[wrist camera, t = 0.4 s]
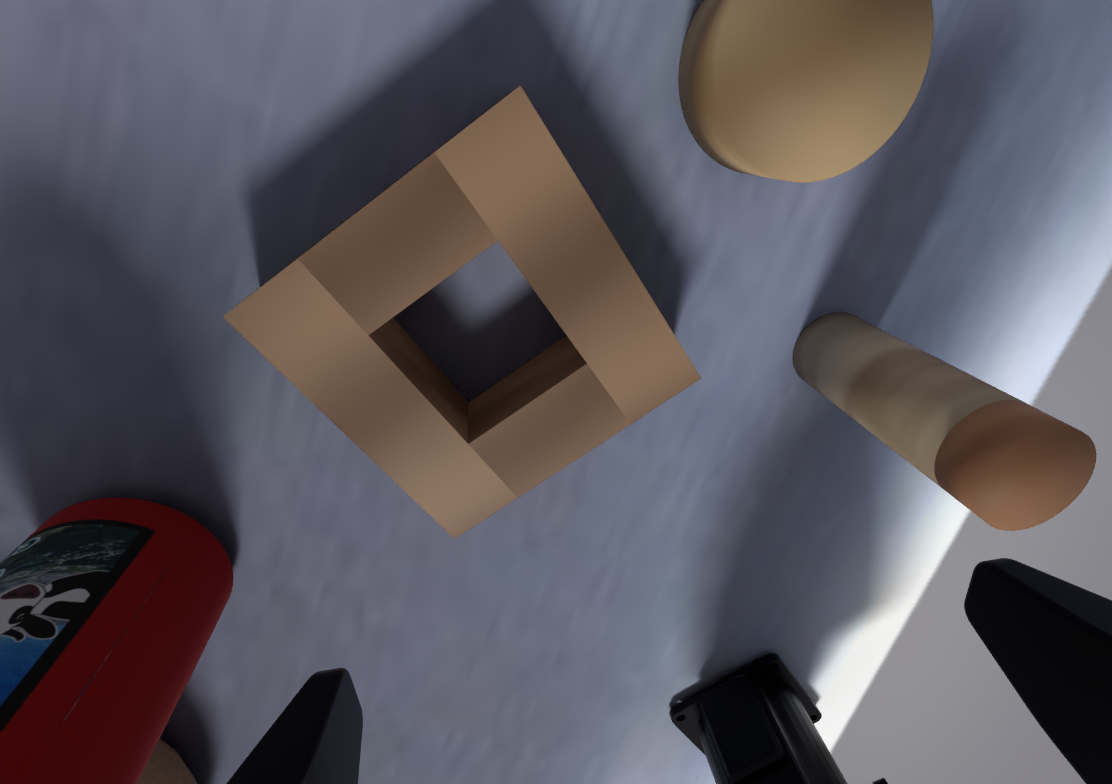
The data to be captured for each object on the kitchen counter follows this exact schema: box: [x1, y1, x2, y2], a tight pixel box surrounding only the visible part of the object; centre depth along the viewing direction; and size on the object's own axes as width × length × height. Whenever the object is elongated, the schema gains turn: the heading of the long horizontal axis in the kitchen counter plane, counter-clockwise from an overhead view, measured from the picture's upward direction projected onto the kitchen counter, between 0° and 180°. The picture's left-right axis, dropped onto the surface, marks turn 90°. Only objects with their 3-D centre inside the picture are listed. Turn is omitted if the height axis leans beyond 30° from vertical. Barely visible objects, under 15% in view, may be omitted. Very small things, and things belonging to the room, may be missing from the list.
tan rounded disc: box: [678, 0, 933, 182], centre depth 16 cm, size 6×6×3 cm
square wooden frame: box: [223, 86, 701, 539], centre depth 18 cm, size 10×10×3 cm
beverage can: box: [0, 498, 233, 784], centre depth 16 cm, size 7×7×12 cm
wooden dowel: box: [793, 312, 1096, 531], centre depth 18 cm, size 3×3×9 cm
